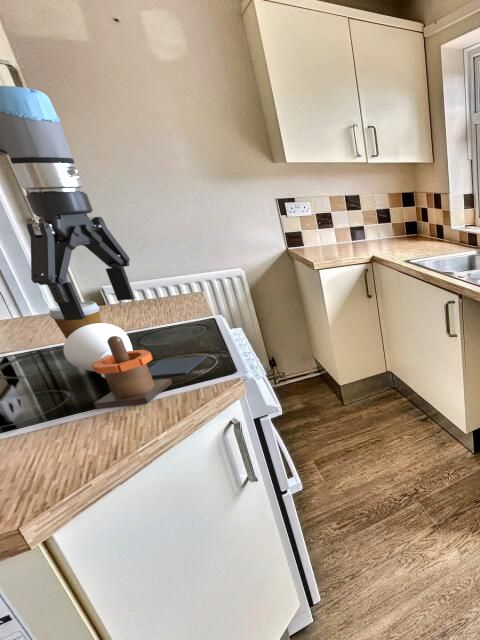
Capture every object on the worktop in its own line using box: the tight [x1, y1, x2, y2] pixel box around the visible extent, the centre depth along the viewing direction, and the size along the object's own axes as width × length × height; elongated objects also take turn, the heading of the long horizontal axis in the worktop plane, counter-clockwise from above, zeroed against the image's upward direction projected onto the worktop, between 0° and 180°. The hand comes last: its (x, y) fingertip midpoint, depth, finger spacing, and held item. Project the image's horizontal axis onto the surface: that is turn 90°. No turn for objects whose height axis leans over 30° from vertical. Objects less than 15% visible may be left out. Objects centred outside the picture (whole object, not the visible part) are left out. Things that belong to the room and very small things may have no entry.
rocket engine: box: [62, 322, 134, 379], centre depth 95 cm, size 12×12×18 cm
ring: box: [91, 349, 153, 375], centre depth 84 cm, size 9×9×1 cm
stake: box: [93, 336, 173, 410], centre depth 85 cm, size 9×9×13 cm
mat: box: [148, 355, 208, 379], centre depth 100 cm, size 10×10×1 cm
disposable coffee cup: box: [48, 301, 102, 340], centre depth 111 cm, size 10×10×12 cm
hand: (103, 308), depth 80 cm, fingers open, 13 cm apart
